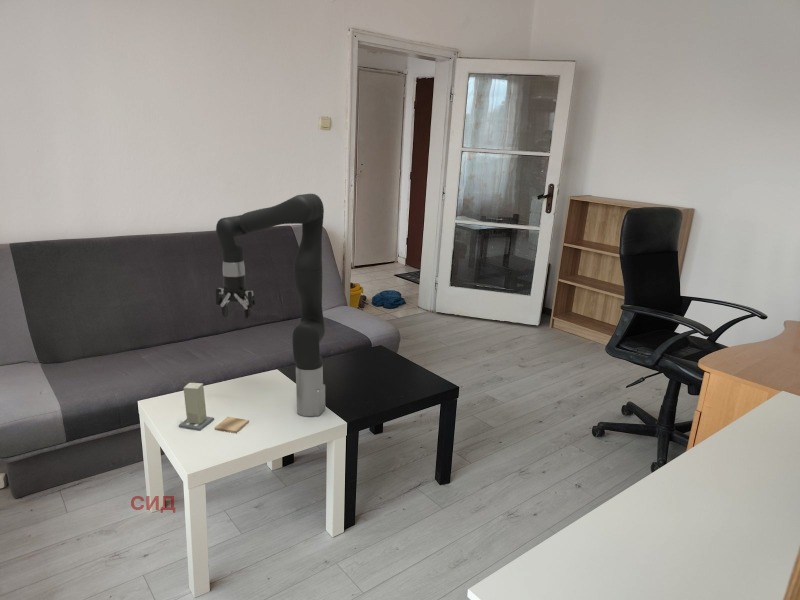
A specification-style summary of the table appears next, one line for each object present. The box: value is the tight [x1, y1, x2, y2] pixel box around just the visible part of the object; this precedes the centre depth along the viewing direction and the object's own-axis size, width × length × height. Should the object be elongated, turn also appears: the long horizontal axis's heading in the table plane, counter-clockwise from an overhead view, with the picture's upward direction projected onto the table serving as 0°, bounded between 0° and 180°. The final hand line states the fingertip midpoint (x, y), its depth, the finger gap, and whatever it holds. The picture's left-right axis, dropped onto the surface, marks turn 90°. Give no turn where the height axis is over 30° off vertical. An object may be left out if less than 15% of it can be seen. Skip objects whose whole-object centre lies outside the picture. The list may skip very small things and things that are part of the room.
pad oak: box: [213, 416, 250, 434], centre depth 185 cm, size 8×8×1 cm
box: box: [183, 382, 208, 424], centre depth 185 cm, size 5×4×13 cm
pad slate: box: [178, 415, 215, 432], centre depth 186 cm, size 8×8×1 cm
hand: (236, 317), depth 202 cm, fingers open, 8 cm apart
